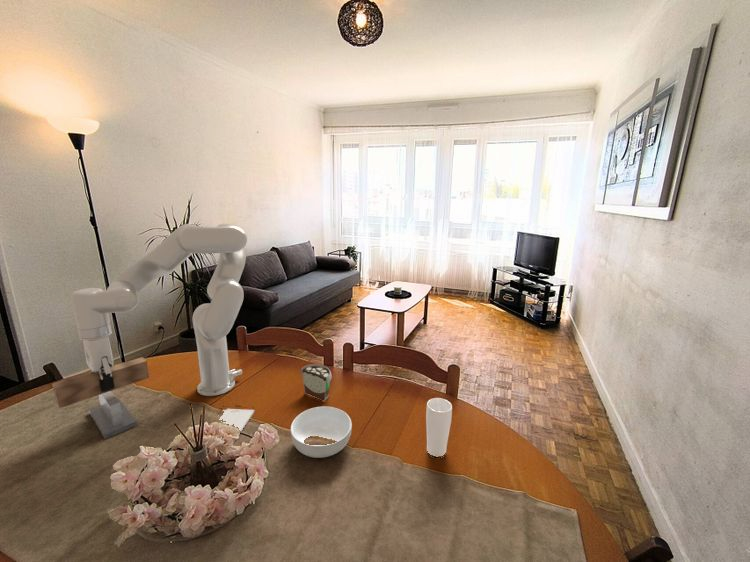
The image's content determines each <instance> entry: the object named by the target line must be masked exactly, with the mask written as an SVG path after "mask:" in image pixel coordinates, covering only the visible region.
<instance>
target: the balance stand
mask: <svg viewBox="0 0 750 562" xmlns="http://www.w3.org/2000/svg"><path fill="white" fill-rule="evenodd" d="M98 399H99V404H100V405H98V406H95V407H93V408H92V407H91V408H89V409H88V412H89V413H90V414H89V413H88V414H89V415H90V417H91V419H92V418H93V419H92V420H93V422H94V421H95V422H94V424H95V425H96V427H97V428H98V430H99V432H100V433H101V435H102V436H103V438H104V439H105V440H107V439H109V438H111V437H114V436H115V434H116V435H119V434H121V433H123V432H125V430H126V431H128V430H130V429H133V428H134V426H135V427H137V426H138V422H137V420H136V419H135V417H134V416H133V415H132V413H131V412H130V411H129V410H128V408H127V407H126V406H125V405H124V403H123V402H122V401H121V400H120V398H117V397H116V395H115V394H114V393H113V392H112V391H109V392H106V393H103V394H100V395H98ZM132 427H133V428H132ZM127 429H128V430H127ZM120 432H121V433H120ZM118 433H119V434H118ZM113 435H114V436H113ZM106 438H107V439H106Z"/></svg>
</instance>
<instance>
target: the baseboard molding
mask: <svg viewBox="0 0 750 562" xmlns="http://www.w3.org/2000/svg"><path fill="white" fill-rule="evenodd" d="M224 407H226V409H223V408H224ZM237 408H238V409H237ZM239 408H240V409H239ZM241 408H243V409H241ZM244 408H245V409H244ZM246 408H247V407H245V406H244V407H243V406H241V405H236V409H235V408H229V406H224V405H222V407H221V408H220V407H219V409H218V410H222V411H224V413H223V415H222V416H221V417H220V419H219V420H222V419H223V421H226V422H223V423H226V424H229V425H233V424H234V426H235V427H238V428H239V430H240V431H241V433H243V431H242V430H244V429H245V427H246V426H247V424H248V423H249V422H250V420H251V418H252V416H253V415H254V414H255V412H256V411H255V407H252V409H246ZM249 419H250V420H249ZM221 422H222V421H221ZM247 422H248V423H247ZM246 423H247V424H246ZM245 425H246V426H245ZM243 428H244V429H243Z"/></svg>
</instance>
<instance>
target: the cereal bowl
mask: <svg viewBox="0 0 750 562" xmlns="http://www.w3.org/2000/svg"><path fill="white" fill-rule="evenodd" d="M352 423H353V422H352V419H351V417H350V416H349V415H348V414H347V412H346V411H344V410H342V409H340V408H336V407H335V406H327V405H326V406H325V405H324V406H323V405H322V406H316V407H312V408H308V409H306V410H304V411H302V412H301V413H299V414H298V415H297V416H296V417H295V418H294V419H293V421H292V422H291V425H290V437H291V441H292V444H293V446H294V447H295V448H296V450H297V451H298V452H300V453H301V454H302V455H305V456H307V457H310V458H315V459H318V458H320V459H322V458H328V457H331V456H334V455H335V454H337V453H339V452H341V451H342V450H343V449H345V447H346V446H347V444H348V443H349V440H350V438H351V435H352V430H353V429H352V428H353V424H352ZM310 436H319V437H323V438H327V439H332V440H335V441H337V442H335V443H332V444H327V445H309V444H305V443H304V440H305V439H306V438H308V437H310Z"/></svg>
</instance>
